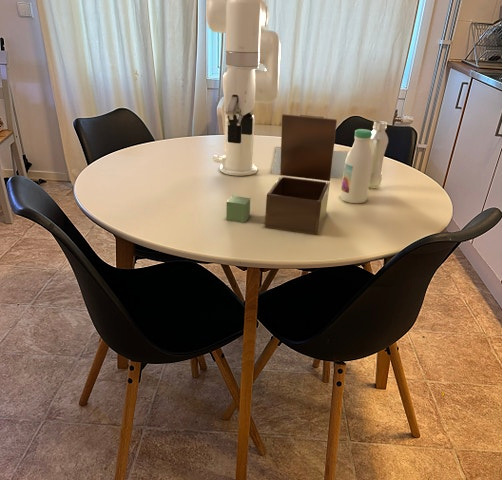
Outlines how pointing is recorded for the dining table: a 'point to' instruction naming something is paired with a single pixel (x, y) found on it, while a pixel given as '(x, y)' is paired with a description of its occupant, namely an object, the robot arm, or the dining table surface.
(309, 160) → the tea box lid
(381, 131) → the plastic bottle
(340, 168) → the architectural model
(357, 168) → the milk bottle
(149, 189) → the dining table surface
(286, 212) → the tea box
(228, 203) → the green cube
